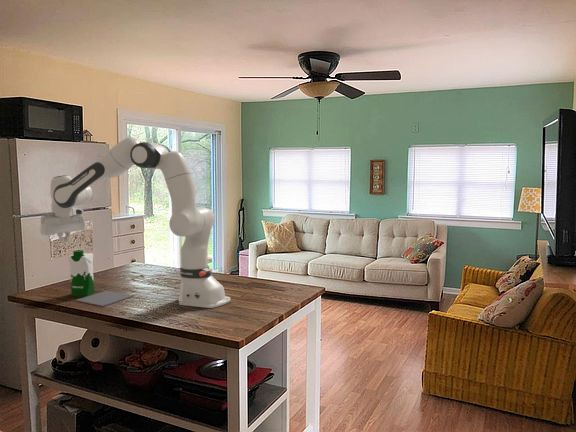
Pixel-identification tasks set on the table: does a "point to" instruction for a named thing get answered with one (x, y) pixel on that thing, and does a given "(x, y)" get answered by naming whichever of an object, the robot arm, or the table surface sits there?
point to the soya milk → (81, 273)
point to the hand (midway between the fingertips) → (64, 242)
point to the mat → (104, 298)
